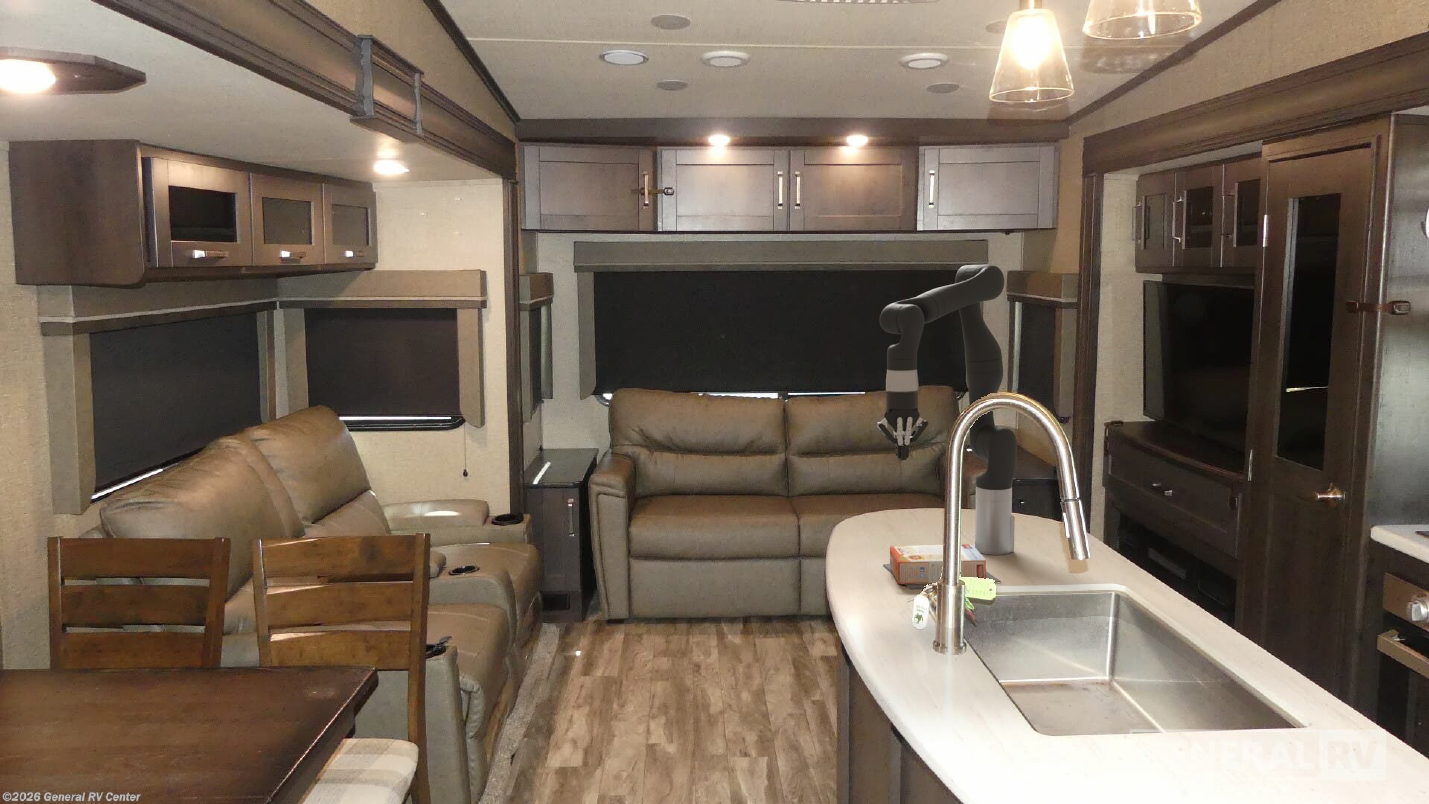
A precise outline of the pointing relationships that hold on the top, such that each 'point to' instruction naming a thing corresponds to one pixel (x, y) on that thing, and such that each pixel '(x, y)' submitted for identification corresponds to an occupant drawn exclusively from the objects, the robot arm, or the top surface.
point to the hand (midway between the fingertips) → (902, 459)
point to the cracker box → (932, 563)
